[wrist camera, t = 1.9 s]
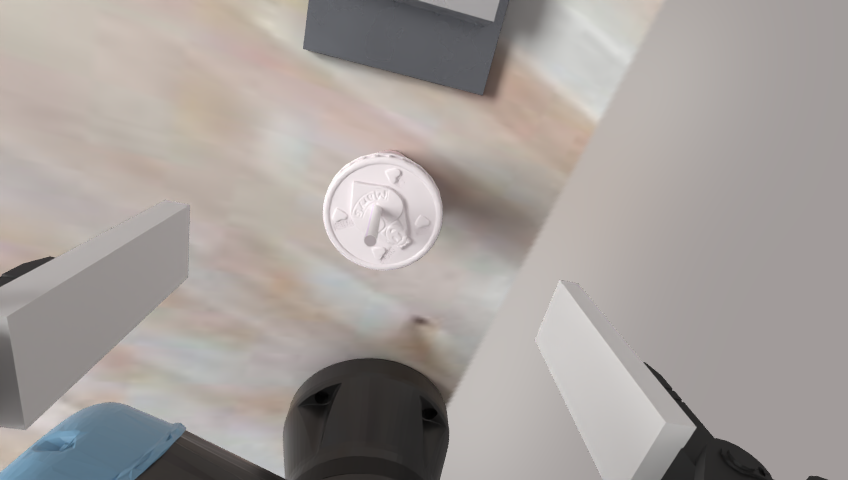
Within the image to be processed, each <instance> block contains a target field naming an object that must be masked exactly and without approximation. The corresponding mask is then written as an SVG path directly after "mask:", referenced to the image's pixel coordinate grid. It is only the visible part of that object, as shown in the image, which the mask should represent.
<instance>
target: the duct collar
mask: <svg viewBox="0 0 848 480" xmlns="http://www.w3.org/2000/svg"><path fill="white" fill-rule="evenodd" d="M508 2H509V0H309V4H308V12H307V20H306V29H305V37H304V46H303V49H306V50H310V51H314V52H317V53H321V54H325V55H329V56H333V57H337V58H341V59H344V60H348V61H352V62H356V63H360V64H364V65H367V66H371V67H375V68H379V69H383V70H387V71H391V72H394V73H398V74H402V75H406V76H410V77H414V78H418V79H421V80H425V81H429V82H433V83H437V84H441V85H445V86H448V87H452V88H456V89H460V90H464V91H468V92H472V93H475V94H479V95H483V92H484V88H485V85H486V81H487V78H488V74H489V70H490V67H491V63H492V59H493V56H494V52H495V49H496V45H497V41H498V38H499V34H500V31H501V27H502V23H503V20H504V16H505V13H506V9H507V5H508Z"/></svg>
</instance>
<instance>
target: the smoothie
mask: <svg viewBox="0 0 848 480" xmlns="http://www.w3.org/2000/svg"><path fill="white" fill-rule="evenodd" d="M442 208H443V205H442V200H441V196H440V192H439V189H438V187H437V186H436V184H435V182H434V180H433V178H432V177H431V176H430V175H429V174H428V173H427V172H426V171H425V170H424V169H423V168H422V167H421V166H420V165H418V164H417V163H415V162H413V161H412V160H410V159H408V158H406V157H405V156H404V155H403V154H401V153H399V152H397V151H393V150H384V151H380V152H378V153H373V154H369V155H365V156H361V157H359V158H357V159H355V160H353V161H352V162H350V163H348V164H346V165H345V166H344V167H343V168H342V169H341V170H340V171H339V172H338V173H337V174H336V175H335V176H334V178H333V180H332V182H331V184H330V186H329V188H328V189H327V193H326V196H325V199H324V204H323V221H324V226H325V229H326V232H327V234H328V237H329V238H330V240H331V242H332V243H333V245H334V246H335V247H336V249H337V250H338V251H339V252H340V253H341V254H342V255H343V256H345V257H346V258H347V259H349V260H350V261H352V262H354V263H355V264H358V265H360V266H363V267H365V268H369V269H374V270H394V269H399V268H403V267H406V266H408V265H410V264H412V263H414V262H416V261H418V260H419V259H420V258H422V257H423V256H424V255H425V254H426V253H427V252H428V251H429V250H430V249H431V248H432V246H433V245H434V243H435V242H436V240H437V238H438V236H439V233H440V230H441V226H442V220H443V210H442Z"/></svg>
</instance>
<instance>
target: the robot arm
mask: <svg viewBox="0 0 848 480" xmlns="http://www.w3.org/2000/svg"><path fill="white" fill-rule="evenodd" d="M189 224H190V205H189V204H185V203H180V202H175V201H170V200H164V201H162V202H160V203H158V204H156V205H155V206H153V207H151V208H149V209H147V210H145V211H143V212H141V213H139V214H137V215H136V216H134V217H132V218H130V219H128V220H126V221H124V222H122V223H120V224H119V225H117V226H115V227H113V228H111V229H109V230H107V231H105V232H103V233H102V234H100V235H98V236H96V237H94V238H92V239H90V240H88V241H86V242H85V243H83V244H81V245H79V246H77V247H75V248H73V249H71V250H69V251H68V252H66V253H64V254H62V255H60V256H58V257H56V258H55V257H46V258H42V259H39V260H35V261H31V262H28V263H24V264H22V265H20V266H18V267H16V268H14V269H12V270H10V271H8V272H6V273H4V274H2V276H1V277H0V427H6V428H13V429H21V430H26V429H27V428H28V427H29V426H31V425H32V424H33V423H34V422H35V421H36V420H37V419H38V418H39V417H40V416H41V415H42V414H43V413H44V412H45V411H46V410H48V409H49V408H50V407H51V406H52V405H53V404H54V403H55V402H56V401H57V400H58V399H59V398H60V397H61V396H62V395H63V394H65V393H66V392H67V391H68V390H69V389H70V388H71V387H72V386H73V385H74V384H75V383H76V382H77V381H78V380H79V379H80V378H82V377H83V376H84V375H85V374H86V373H87V372H88V371H89V370H90V369H91V368H92V367H93V366H94V365H95V364H96V363H97V362H99V361H100V360H101V359H102V358H103V357H104V356H105V355H106V354H107V353H108V352H109V351H110V350H111V349H112V348H113V347H114V346H116V345H117V344H118V343H119V342H120V341H121V340H122V339H123V338H124V337H125V336H126V335H127V334H128V333H129V332H130V331H131V330H133V329H134V328H135V327H136V326H137V325H138V324H139V323H140V322H141V321H142V320H143V319H144V318H145V317H146V316H147V315H148V314H150V313H151V312H152V311H153V310H154V309H155V308H156V307H157V306H158V305H159V304H160V303H161V302H162V301H163V300H164V299H166V298H167V297H168V296H169V295H170V294H171V293H172V292H173V291H174V290H175V289H176V288H177V287H178V286H179V285H180V284H181V283H183V282H184V281H185V280H186V279H187V278H188V262H189ZM535 342H536V343H537V346H538V348H539V350H540V352H541V354H542V356H543V358H544V360H545V362H546V364H547V366H548V368H549V370H550V373H551V375H552V377H553V379H554V381H555V383H556V385H557V387H558V389H559V391H560V393H561V395H562V397H563V399H564V401H565V403H566V406H567V408H568V410H569V412H570V414H571V416H572V418H573V420H574V422H575V424H576V426H577V428H578V430H579V433H580V435H581V436H582V438H583V441H584V443H585V445H586V447H587V449H588V451H589V453H590V455H591V457H592V459H593V461H594V463H595V466H596V468H597V470H598V472H599V474H600V476H601V478H602V480H773V479H772V477H771V475H770V473H769V472H768V471H767V470H766V468H765V467H764V466H763V465H762V464H761V463H760V462H759V461H758V460H757V459H755V458H754V457H753V456H752V455H750V454H749V453H748V452H746V451H745V450H743V449H742V448H740V447H739V446H736V445H734V444H732V443H730V442H727V441H725V440H720V439H717V438H716V439H715V438H714V437H713V436H712V435H711V434H710V433H709V431H708V430H707V429H706V428H705V427H704V426H703V424H702V423H701V422H700V421H699V420H698V418H697V417H696V416H695V415H694V414H693V413H692V411H691V410H690V409H689V408H688V407H687V405H686V404H685V403H684V402H681V400H682V399H681V398H680V397H679V396H678V395H677V393H676V392H675V391H672V388H671V386H670V385H669V384H668V383H667V382H666V380H665V379H664V378H663V377H662V376H661V375H660V374H659V373H658V372H656V371H655V370H654V369H653V368H651V367H650V366H649V365H648V364H646V363H645V362H643V361H642V360H641V359H640V358H639V357H638V355H637V354H636V353H635V352H634V351H633V349H632V348H631V347H630V346H629V344H628V343H627V342H626V341H625V340H624V338H623V337H622V336H621V335H620V333H619V332H618V331H617V330H616V329H615V327H614V326H613V325H612V324H611V323H610V321H609V320H608V319H607V318H606V316H605V315H604V314H603V313H602V312H601V310H600V309H599V308H598V307H597V305H595V303H594V302H593V301H592V299H591V298H590V297H589V296H588V294H587V293H586V292H585V291H584V290H583V288H582V287H581V286H580V285H579V284H578V283H573V282H568V281H563V280H559V282H558V285H557V287H556V290H555V292H554V294H553V297H552V299H551V302H550V304H549V306H548V309H547V312H546V314H545V316H544V319H543V321H542V324H541V326H540V328H539V331H538V333H537V336H536V338H535ZM448 442H449V427H448V418H447V411H446V406H445V403H444V401H443V398H442V396H441V395H440V393H439V391H438V390H437V389H436V387H435V386H434V385H433V384H432V383H431V382H430V381H429V380H428V379H427V378H425V377H424V376H423V375H421V374H420V373H418V372H417V371H415V370H413V369H411V368H409V367H407V366H404V365H402V364H399V363H395V362H391V361H387V360H380V359H356V360H349V361H344V362H340V363H337V364H334V365H331V366H329V367H327V368H324V369H322V370H321V371H319V372H317V373H316V374H314V375H313V376H312V377H310V378H309V379H308V380H307V381H306V382H305V383H304V384H303V385H302V386H301V387H300V388H299V390H298V391H297V393H296V394H295V396H294V398H293V400H292V402H291V405H290V408H289V411H288V414H287V417H286V420H285V424H284V430H283V449H284V466H285V479H284V478H282V477H280V476H278V475H276V474H274V473H272V472H270V471H268V470H266V469H264V468H262V467H259V466H257V465H255V464H253V463H251V462H249V461H247V460H245V459H243V458H241V457H239V456H237V455H235V454H233V453H231V452H229V451H227V450H225V449H223V448H221V447H219V446H217V445H215V444H212V443H210V442H208V441H206V440H204V439H202V438H200V437H198V436H196V435H194V434H192V433H190V432H188V431H186V427H185V426H184V425H182V424H181V423H175V424H171V423H168V422H166V421H164V420H161V419H159V418H156V417H154V416H152V415H149V414H147V413H144V412H142V411H140V410H137V409H135V408H132V407H130V406H128V405H125V404H121V403H115V402H109V403H101V404H96V405H93V406H90V407H87V408H85V409H83V410H81V411H79V412H77V413H75V414H73V415H72V416H70V417H69V418H67V419H66V420H64V421H63V422H61V423H60V424H59V425H57V426H56V427H55V428H53V429H52V430H51V431H49V432H48V433H47V434H46V435H44V436H43V437H42V438H40V439H39V440H38V441H37V442H36V443H34V444H33V445H32V446H31V447H29V448H28V449H27V450H26V451H25V452H24V453H22V454H21V455H20V456H19V457H18V458H17V459H15V460H14V461H13V462H12V463H11V464H10V465H8V466H7V467H6V468H5V469H4V470H3V471H1V472H0V480H440V476H441V472H442V468H443V464H444V461H445V457H446V452H447V448H448ZM807 480H827V479H824V478H821V477H818V476H809V477H808V479H807Z"/></svg>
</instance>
